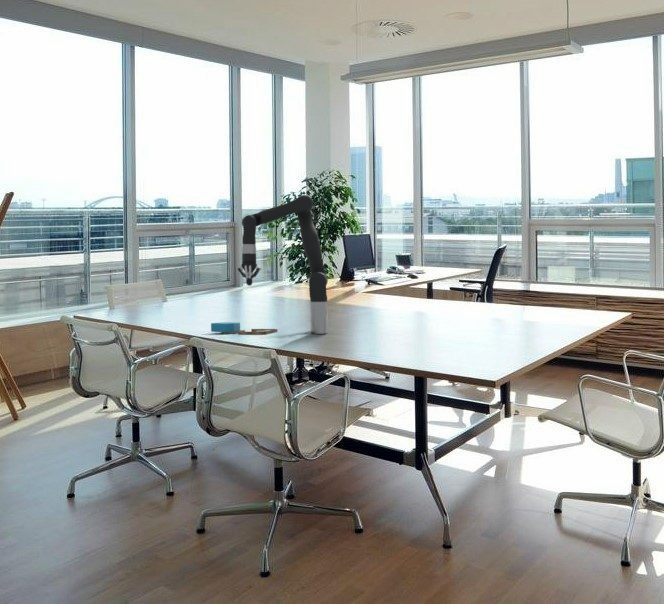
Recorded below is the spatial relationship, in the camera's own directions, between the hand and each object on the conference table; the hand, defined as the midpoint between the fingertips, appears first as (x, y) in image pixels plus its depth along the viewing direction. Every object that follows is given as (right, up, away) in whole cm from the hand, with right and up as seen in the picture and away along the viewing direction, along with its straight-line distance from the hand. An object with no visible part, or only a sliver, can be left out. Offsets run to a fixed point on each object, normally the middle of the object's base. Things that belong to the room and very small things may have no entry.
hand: (249, 285), depth 392 cm
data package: (-18, -22, +7) cm, 29 cm away
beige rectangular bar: (+8, -26, +4) cm, 28 cm away
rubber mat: (-9, -26, +3) cm, 27 cm away
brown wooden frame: (+4, -26, 0) cm, 26 cm away
